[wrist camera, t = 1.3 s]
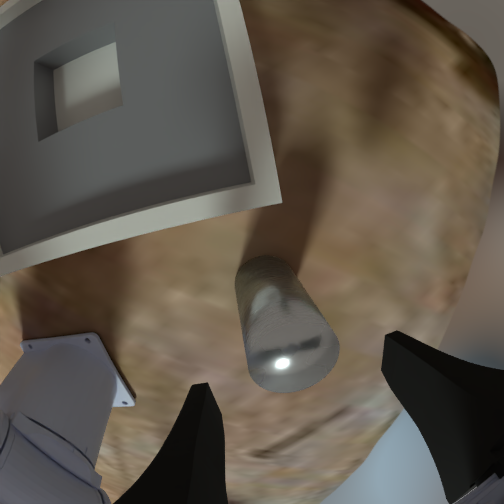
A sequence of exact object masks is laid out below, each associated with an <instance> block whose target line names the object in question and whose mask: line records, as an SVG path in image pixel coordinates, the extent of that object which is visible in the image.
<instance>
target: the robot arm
mask: <svg viewBox="0 0 504 504" xmlns="http://www.w3.org/2000/svg"><path fill="white" fill-rule="evenodd" d="M87 338H88V339H89V340H90V341H89V340H88V339H87ZM20 346H21V348H22V350H23V352H24V354H23V355H22V356H21V358H20V359H19V360H18V361H17V363H16V364H15V365H14V367H13V368H12V370H11V371H10V372H9V374H8V375H7V376H6V378H5V379H4V381H3V382H2V384H1V385H0V504H111V502H110V499H109V497H108V495H107V494H106V493H105V491H104V490H103V489H101V488H100V485H101V480H102V476H101V475H99V474H98V473H97V472H95V470H94V469H95V465H96V461H97V458H98V454H99V450H100V446H101V443H102V439H103V436H104V432H105V429H106V426H107V422H108V419H109V416H110V413H111V409H112V407H123V406H134V405H135V402H136V401H135V399H134V397H133V396H132V394H131V393H130V391H129V389H128V388H127V386H126V385H125V383H124V381H123V380H122V378H121V376H120V375H119V373H118V371H117V369H116V368H115V366H114V364H113V362H112V360H111V359H110V357H109V355H108V353H107V351H106V349H105V347H104V346H103V344H102V342H101V340H100V338H99V336H98V335H97V334H96V333H93V332H91V333H83V334H76V335H68V336H60V337H52V338H43V339H34V340H24V341H22V342H21V343H20ZM381 371H382V373H383V375H384V377H385V379H386V381H387V383H388V385H389V386H390V388H391V390H392V391H393V393H394V394H395V396H396V397H397V398H398V400H399V401H400V403H401V404H402V405H403V407H404V408H405V410H406V411H407V412H408V414H409V415H410V416H411V418H412V419H413V421H414V422H415V424H416V425H417V427H418V428H419V430H420V432H421V434H422V436H423V438H424V440H425V442H426V444H427V446H428V448H429V450H430V452H431V455H432V457H433V459H434V462H435V464H436V467H437V470H438V472H439V475H440V478H441V481H442V485H443V488H444V491H445V495H446V499H447V501H448V502H449V504H452V503H454V502H456V501H457V500H459V499H460V498H462V497H463V496H464V495H466V494H467V493H468V492H470V491H471V490H472V489H474V488H475V487H476V486H477V488H476V489H474V490H473V491H472V492H470V493H469V494H468V495H466V496H465V497H464V498H462V499H461V500H459V501H458V502H456V503H455V504H504V370H500V369H495V368H489V367H485V366H480V365H477V364H474V363H470V362H467V361H464V360H461V359H459V358H456V357H453V356H451V355H448V354H446V353H444V352H441V351H439V350H437V349H435V348H433V347H431V346H428V345H426V344H424V343H422V342H420V341H418V340H416V339H414V338H412V337H410V336H408V335H406V334H404V333H402V332H400V331H394V332H392V333H389V334H386V335H385V340H384V350H383V359H382V367H381ZM113 504H228V500H227V493H226V483H225V435H224V428H223V420H222V414H221V412H220V409H219V407H218V405H217V403H216V400H215V398H214V396H213V394H212V391H211V389H210V387H209V384H208V382H207V383H201V384H194V385H192V386H191V388H190V390H189V393H188V395H187V398H186V400H185V402H184V405H183V407H182V409H181V411H180V414H179V416H178V418H177V420H176V422H175V424H174V426H173V428H172V430H171V432H170V433H169V435H168V437H167V439H166V440H165V442H164V444H163V446H162V447H161V449H160V450H159V452H158V454H157V455H156V457H155V458H154V459H153V461H152V462H151V464H150V465H149V466H148V468H147V469H146V470H145V471H144V473H143V474H142V475H141V476H140V477H139V479H138V480H137V481H136V482H135V483H134V484H133V485H132V486H131V487H130V488H129V489H128V490H127V491H126V492H125V493H124V494H123V495H122V496H121V497H120V498H119V499H118V500H117V501H116V502H114V503H113Z"/></svg>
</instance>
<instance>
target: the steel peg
mask: <svg viewBox="0 0 504 504" xmlns="http://www.w3.org/2000/svg"><path fill="white" fill-rule="evenodd" d="M235 292H236V298H237V304H238V310H239V317H240V323H241V329H242V335H243V341H244V347H245V352H246V358H247V364H248V370H249V373H250V376H251V377H252V379H253V380H254V382H255V383H256V384H258V385H259V386H260V387H262V388H264V389H266V390H269V391H272V392H279V393H289V392H296V391H300V390H303V389H306V388H308V387H311V386H312V385H314V384H316V383H318V382H319V381H320V380H322V379H323V378H324V377H325V376H326V375H327V374H328V373H329V372H330V371H331V370H332V368H333V367H334V365H335V363H336V362H337V359H338V356H339V349H340V347H339V341H338V338H337V336H336V335H335V333H334V332H333V330H332V329H331V327H330V326H329V324H328V322H327V321H326V320H325V318H324V317H323V315H322V314H321V312H320V311H319V309H318V308H317V306H316V305H315V303H314V302H313V300H312V299H311V297H310V296H309V294H308V293H307V291H306V290H305V288H304V287H303V285H302V284H301V282H300V281H299V280H298V278H297V277H296V275H295V274H294V272H293V271H292V269H291V268H290V267H289V265H288V264H287V263H286V262H285V261H283V260H282V259H280V258H278V257H275V256H269V255H264V256H258V257H255V258H253V259H251V260H249V261H248V262H246V263H245V264H244V265H243V266H242V267H241V268H240V270H239V271H238V273H237V275H236V279H235Z"/></svg>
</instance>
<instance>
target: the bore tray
mask: <svg viewBox="0 0 504 504" xmlns="http://www.w3.org/2000/svg"><path fill="white" fill-rule="evenodd" d="M278 203H282V198H281V192H280V186H279V181H278V175H277V170H276V164H275V159H274V154H273V148H272V143H271V138H270V133H269V128H268V123H267V118H266V113H265V108H264V104H263V99H262V94H261V89H260V85H259V80H258V76H257V71H256V67H255V63H254V58H253V54H252V50H251V45H250V41H249V37H248V33H247V29H246V25H245V21H244V17H243V13H242V9H241V5H240V2H239V0H9V1H8V2H6V3H5V4H4V5H2V6H1V7H0V276H3V275H6V274H9V273H12V272H15V271H18V270H21V269H24V268H27V267H30V266H33V265H36V264H40V263H43V262H46V261H49V260H53V259H56V258H59V257H62V256H66V255H69V254H73V253H76V252H79V251H83V250H86V249H90V248H94V247H97V246H101V245H104V244H108V243H112V242H115V241H119V240H123V239H127V238H130V237H134V236H138V235H142V234H146V233H150V232H154V231H158V230H162V229H166V228H170V227H174V226H178V225H182V224H186V223H191V222H195V221H199V220H204V219H208V218H212V217H217V216H221V215H226V214H230V213H235V212H240V211H244V210H249V209H254V208H259V207H263V206H268V205H273V204H278Z"/></svg>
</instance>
